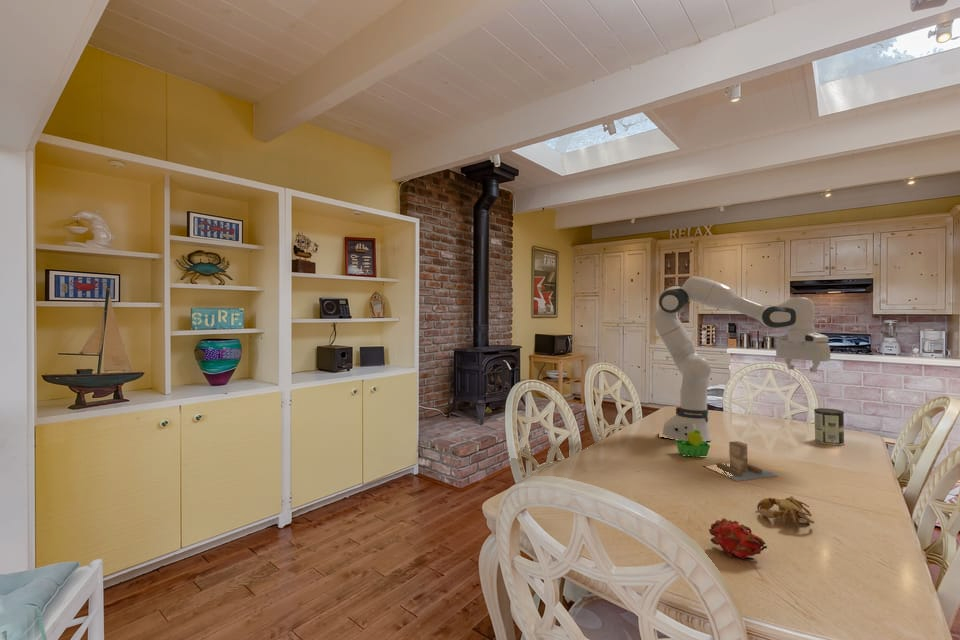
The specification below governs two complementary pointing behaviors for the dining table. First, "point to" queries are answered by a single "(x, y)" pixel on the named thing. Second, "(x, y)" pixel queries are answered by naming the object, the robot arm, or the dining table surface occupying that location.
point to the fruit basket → (693, 445)
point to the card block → (738, 456)
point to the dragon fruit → (736, 539)
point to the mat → (751, 474)
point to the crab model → (784, 509)
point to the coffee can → (829, 426)
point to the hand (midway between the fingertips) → (801, 370)
